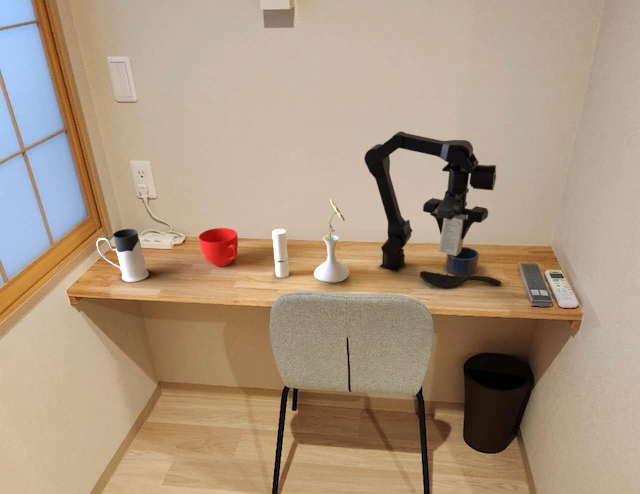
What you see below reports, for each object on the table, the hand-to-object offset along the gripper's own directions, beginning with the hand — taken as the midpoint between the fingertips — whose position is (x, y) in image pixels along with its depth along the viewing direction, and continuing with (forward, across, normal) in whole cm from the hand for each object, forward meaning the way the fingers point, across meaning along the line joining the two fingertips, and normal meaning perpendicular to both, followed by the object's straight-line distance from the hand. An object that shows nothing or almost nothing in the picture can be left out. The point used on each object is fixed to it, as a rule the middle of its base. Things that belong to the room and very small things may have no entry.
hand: (452, 236), depth 169 cm
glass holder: (+13, -89, -58) cm, 107 cm away
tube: (+13, -46, -29) cm, 55 cm away
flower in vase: (+13, -31, -21) cm, 40 cm away
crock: (+13, +2, +6) cm, 15 cm away
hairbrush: (+13, +6, -3) cm, 15 cm away
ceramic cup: (+13, -67, -33) cm, 76 cm away
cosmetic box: (+5, 0, 0) cm, 5 cm away
